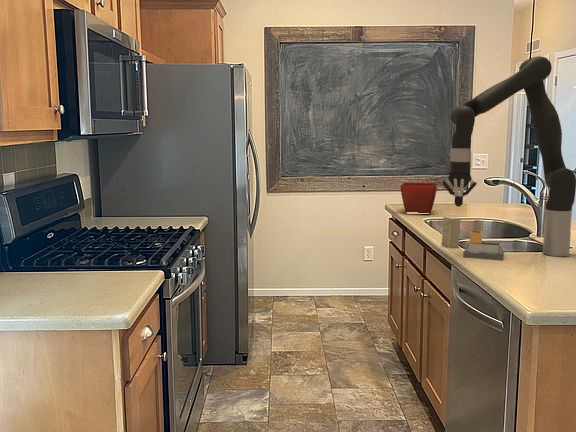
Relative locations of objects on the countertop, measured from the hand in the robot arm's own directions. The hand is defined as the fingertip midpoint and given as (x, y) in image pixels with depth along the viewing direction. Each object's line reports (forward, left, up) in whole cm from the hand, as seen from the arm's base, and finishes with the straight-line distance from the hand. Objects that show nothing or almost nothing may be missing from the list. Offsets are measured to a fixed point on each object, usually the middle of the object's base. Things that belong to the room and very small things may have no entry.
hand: (458, 206), depth 229 cm
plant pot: (+35, -107, -19) cm, 114 cm away
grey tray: (-10, 0, -19) cm, 21 cm away
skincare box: (+4, -15, -19) cm, 24 cm away
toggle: (-7, 0, -16) cm, 18 cm away
